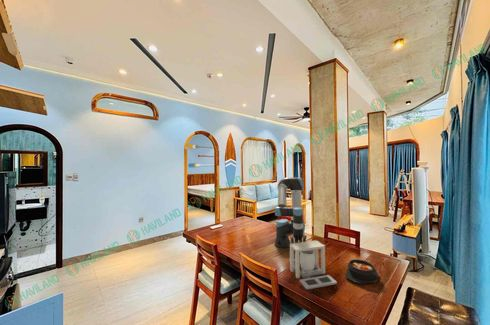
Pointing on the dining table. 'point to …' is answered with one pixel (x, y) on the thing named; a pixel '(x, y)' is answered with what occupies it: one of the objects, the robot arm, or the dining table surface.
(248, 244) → the dining table surface
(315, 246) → the open rectangular frame
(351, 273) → the casserole
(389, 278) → the dining table surface
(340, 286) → the dining table surface
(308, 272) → the picture frame
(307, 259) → the jar
